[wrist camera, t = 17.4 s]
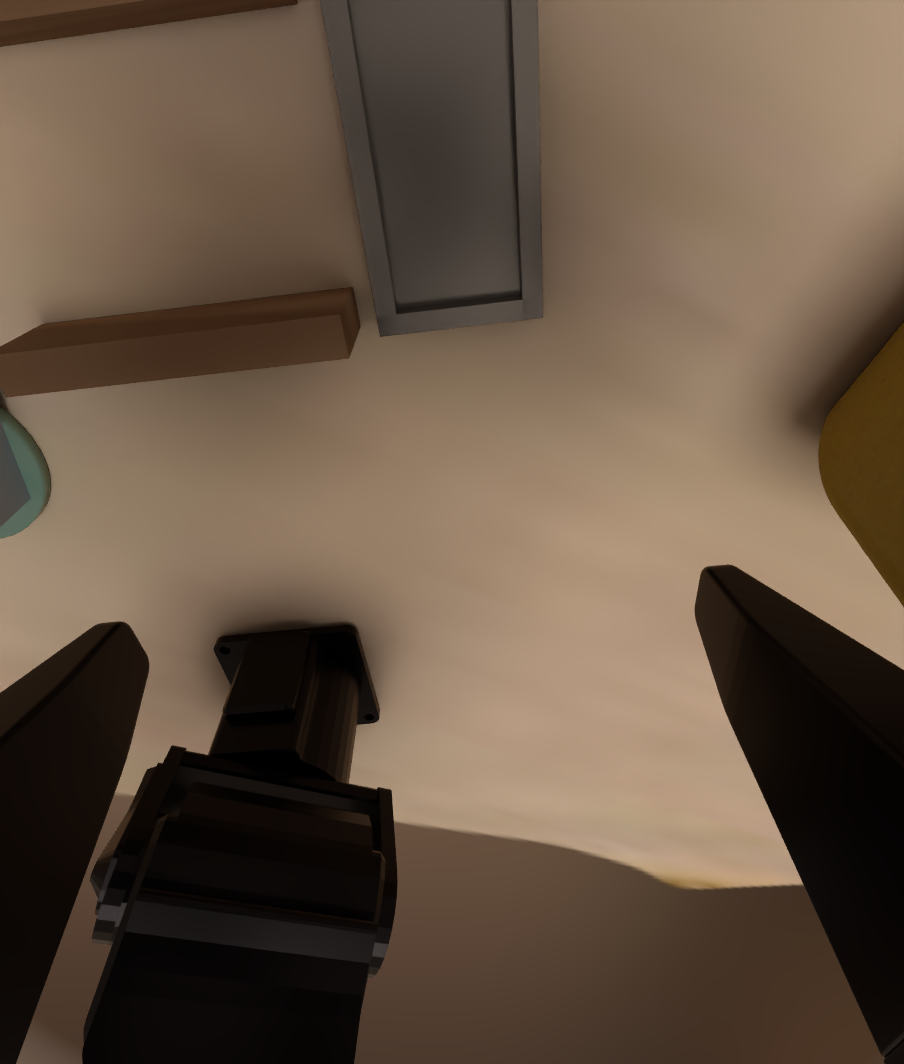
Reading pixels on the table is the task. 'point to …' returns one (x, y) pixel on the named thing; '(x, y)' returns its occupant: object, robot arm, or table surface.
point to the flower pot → (871, 461)
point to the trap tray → (443, 156)
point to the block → (10, 481)
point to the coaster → (26, 475)
